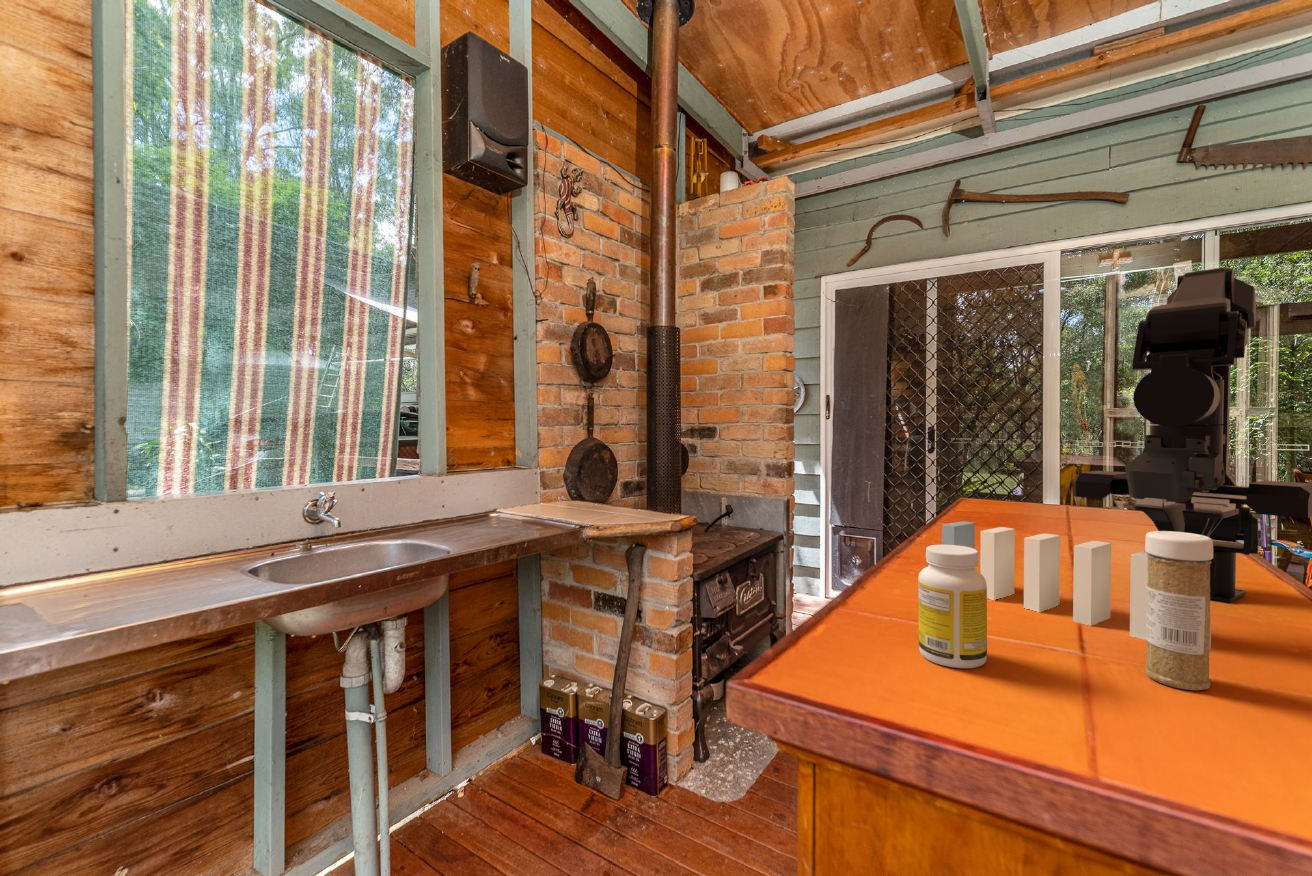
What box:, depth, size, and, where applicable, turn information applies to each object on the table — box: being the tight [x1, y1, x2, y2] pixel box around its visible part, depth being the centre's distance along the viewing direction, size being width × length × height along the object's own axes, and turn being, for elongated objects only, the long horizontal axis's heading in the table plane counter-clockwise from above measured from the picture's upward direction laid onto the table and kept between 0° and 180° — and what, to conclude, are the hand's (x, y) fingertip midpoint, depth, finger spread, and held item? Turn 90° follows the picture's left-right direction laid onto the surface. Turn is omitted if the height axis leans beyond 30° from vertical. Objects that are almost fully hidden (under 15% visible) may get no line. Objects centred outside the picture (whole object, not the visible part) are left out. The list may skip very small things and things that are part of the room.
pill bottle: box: [917, 544, 988, 669], centre depth 59 cm, size 6×6×11 cm
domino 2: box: [979, 526, 1016, 601], centre depth 78 cm, size 2×5×9 cm, turn 121°
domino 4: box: [1072, 540, 1112, 627], centre depth 69 cm, size 2×5×9 cm, turn 121°
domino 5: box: [1129, 550, 1148, 641], centre depth 64 cm, size 2×5×9 cm, turn 121°
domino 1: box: [941, 520, 976, 549], centre depth 83 cm, size 2×5×9 cm, turn 121°
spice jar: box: [1144, 530, 1214, 691], centre depth 53 cm, size 5×5×13 cm
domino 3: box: [1023, 532, 1061, 613], centre depth 74 cm, size 2×5×9 cm, turn 121°
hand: (1182, 572), depth 62 cm, fingers closed
